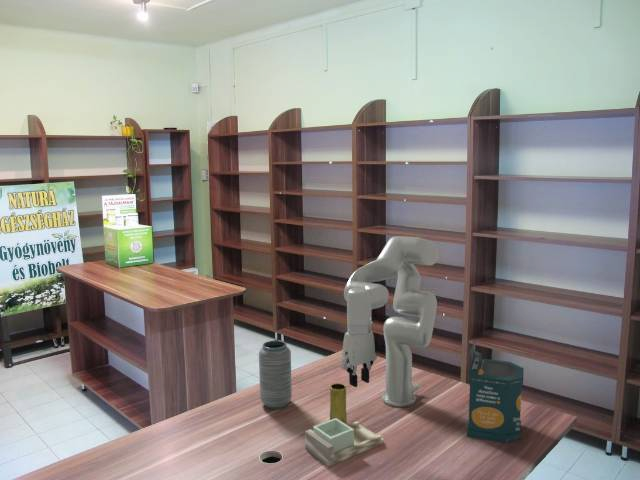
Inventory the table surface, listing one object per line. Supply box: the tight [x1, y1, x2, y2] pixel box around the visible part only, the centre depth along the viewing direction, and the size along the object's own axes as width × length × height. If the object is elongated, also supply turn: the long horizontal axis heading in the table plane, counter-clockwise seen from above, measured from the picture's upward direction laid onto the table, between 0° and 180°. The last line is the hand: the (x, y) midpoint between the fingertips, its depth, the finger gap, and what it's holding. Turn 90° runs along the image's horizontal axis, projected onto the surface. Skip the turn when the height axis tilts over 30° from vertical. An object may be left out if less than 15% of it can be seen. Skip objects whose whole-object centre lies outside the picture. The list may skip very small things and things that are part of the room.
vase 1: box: [258, 340, 293, 410], centre depth 197 cm, size 12×12×23 cm
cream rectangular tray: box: [304, 420, 385, 467], centre depth 170 cm, size 22×12×6 cm, turn 126°
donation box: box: [466, 338, 525, 444], centre depth 177 cm, size 16×16×28 cm
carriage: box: [312, 418, 354, 454], centre depth 167 cm, size 9×9×6 cm
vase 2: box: [329, 382, 348, 425], centre depth 181 cm, size 6×6×14 cm
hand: (359, 383), depth 170 cm, fingers open, 4 cm apart
